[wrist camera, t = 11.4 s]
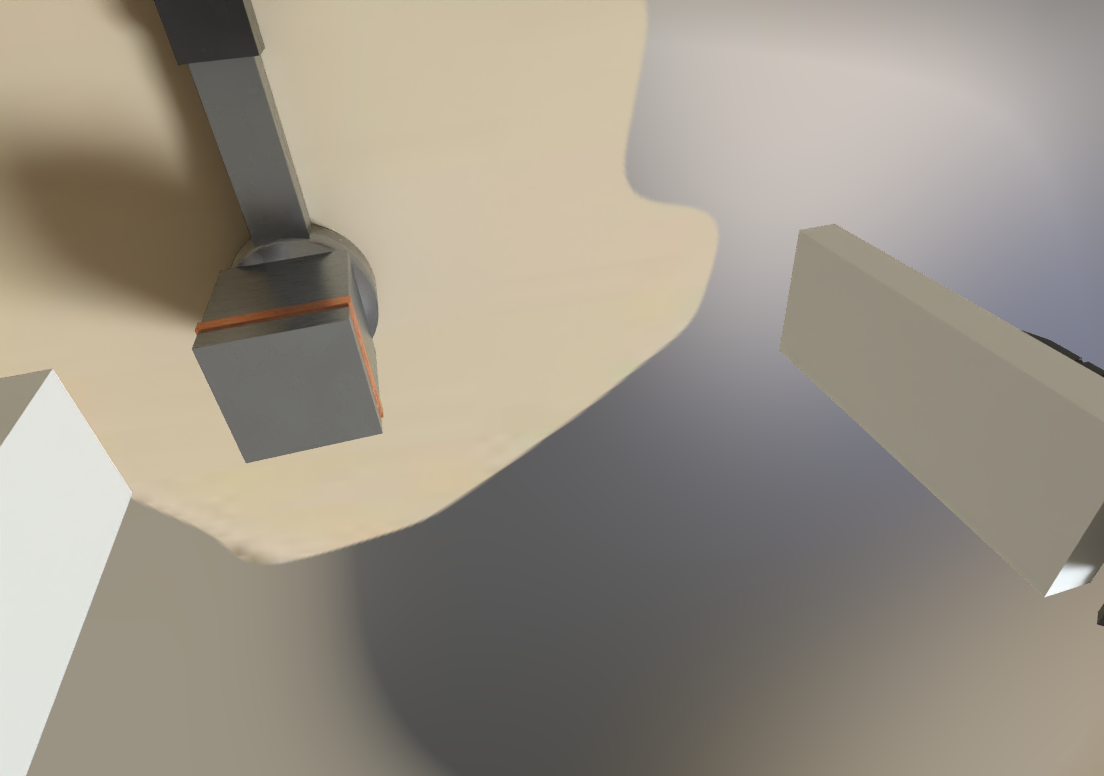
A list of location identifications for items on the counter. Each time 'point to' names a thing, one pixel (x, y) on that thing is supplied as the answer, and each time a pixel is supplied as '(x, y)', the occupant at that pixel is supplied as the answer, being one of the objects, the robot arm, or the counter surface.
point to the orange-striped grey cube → (290, 355)
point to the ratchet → (253, 135)
